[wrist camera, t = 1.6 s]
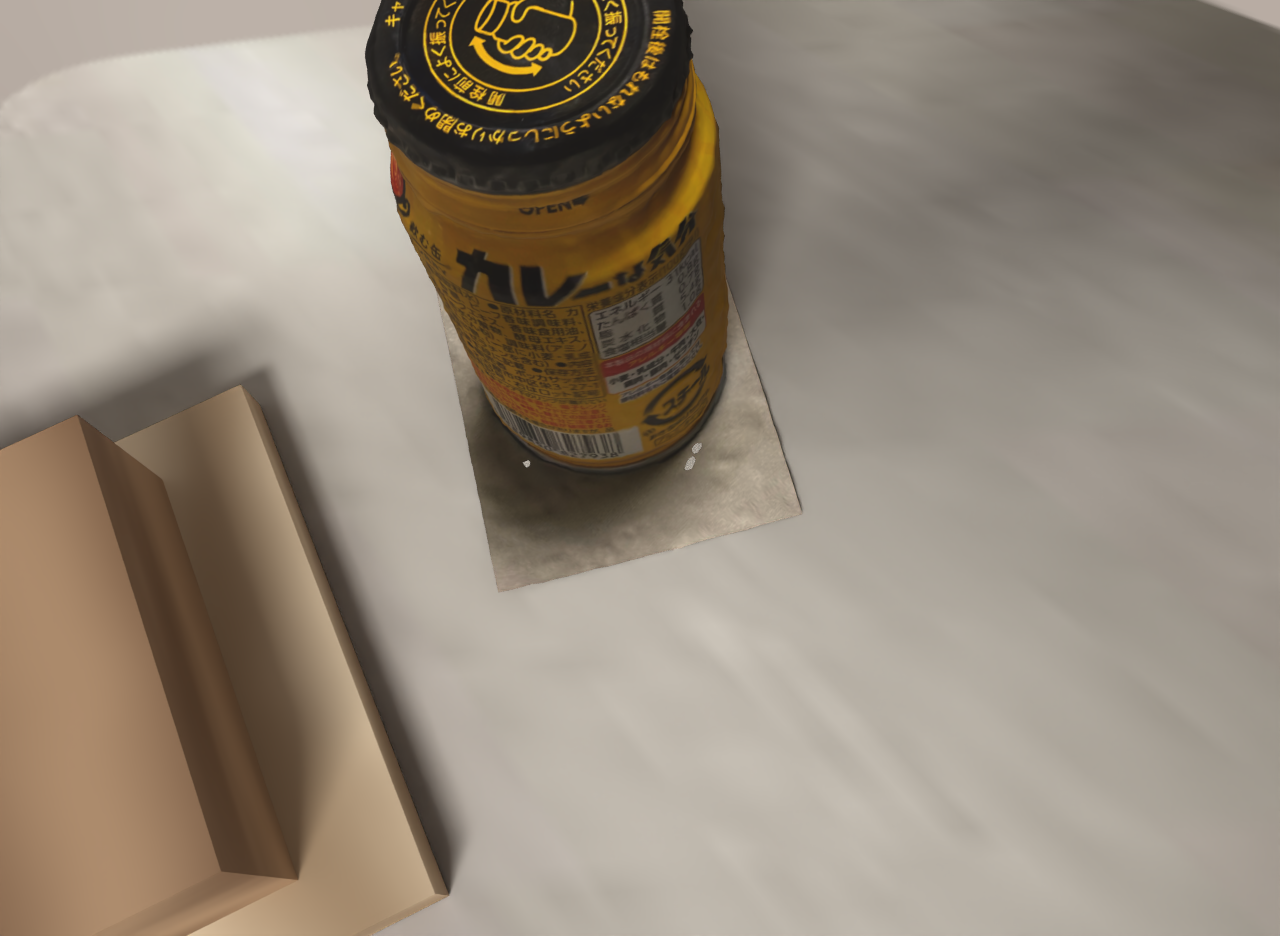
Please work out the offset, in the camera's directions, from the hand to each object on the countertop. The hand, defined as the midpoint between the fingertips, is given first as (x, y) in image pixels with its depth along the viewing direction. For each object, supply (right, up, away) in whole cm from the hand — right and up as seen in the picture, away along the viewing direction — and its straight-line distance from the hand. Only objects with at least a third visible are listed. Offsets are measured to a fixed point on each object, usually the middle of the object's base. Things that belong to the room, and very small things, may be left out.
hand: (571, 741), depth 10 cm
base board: (-13, -5, +17) cm, 22 cm away
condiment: (0, +4, +19) cm, 20 cm away
